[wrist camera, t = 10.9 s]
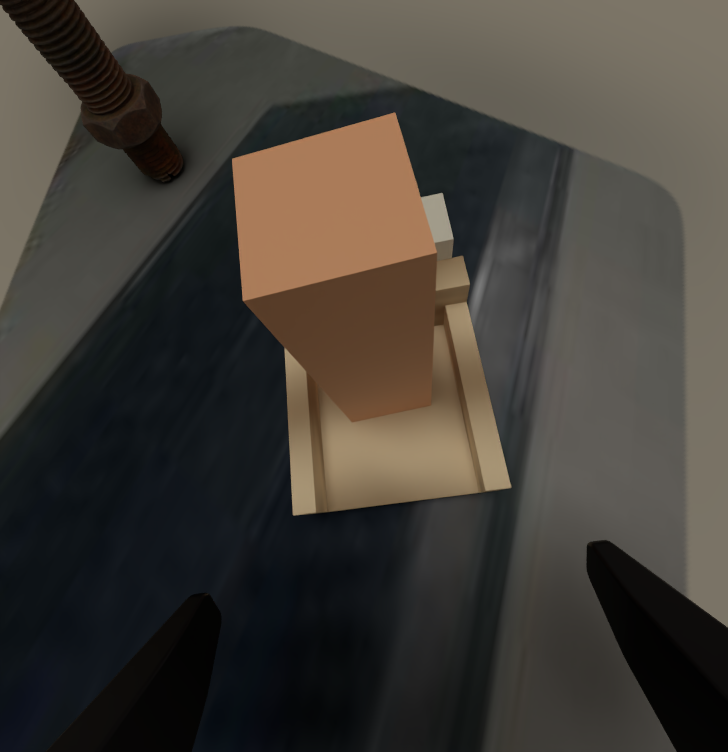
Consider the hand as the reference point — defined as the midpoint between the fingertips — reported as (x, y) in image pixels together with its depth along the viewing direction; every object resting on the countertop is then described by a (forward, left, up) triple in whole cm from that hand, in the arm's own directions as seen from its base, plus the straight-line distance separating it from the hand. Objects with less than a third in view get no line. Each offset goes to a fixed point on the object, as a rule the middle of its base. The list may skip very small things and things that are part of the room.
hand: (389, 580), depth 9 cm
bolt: (+16, +27, -10) cm, 33 cm away
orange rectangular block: (+7, +4, -8) cm, 12 cm away
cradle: (+6, +4, -10) cm, 12 cm away
